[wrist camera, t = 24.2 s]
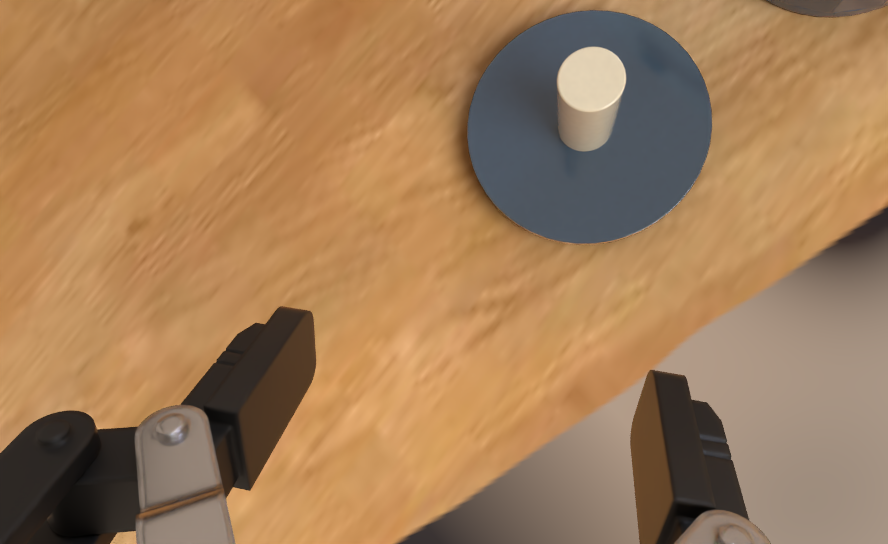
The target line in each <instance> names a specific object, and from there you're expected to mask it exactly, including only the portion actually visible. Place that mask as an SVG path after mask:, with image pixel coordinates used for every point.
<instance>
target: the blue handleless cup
mask: <svg viewBox="0 0 888 544" xmlns="http://www.w3.org/2000/svg"><path fill="white" fill-rule="evenodd" d="M767 1H768V2H770V3H772V4H774V5H776V6H779V7H781V8H783V9H786V10H789V11H792V12H796V13H799V14H804V15H811V16H818V17H840V16H851V15H856V14H861V13H866V12H869V11H873V10H876V9H879V8H882V7H884V6H887V5H888V0H767Z"/></svg>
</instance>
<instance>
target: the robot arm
mask: <svg viewBox="0 0 888 544" xmlns="http://www.w3.org/2000/svg"><path fill="white" fill-rule="evenodd" d="M315 368H316V351H315V335H314V320H313V314H312V312H311V311H307V310H301V309H295V308H289V307H283V306H281V307H279V308H278V309H277V310H276V311H275V312H274V314H273V315H272V316H271V318H270V319H269V320H268V322H267V323H266V324H260V323H255V324H253V325H252V326H250V327H248V328H247V329H245V330H244V331H242V332H240V333H239V334H237V336H236V337H235V338H234V339H233V341H232V342H231V343H230V344H229V345H228V347H227V348H226V351H224V352H223V353H222V354H221V355H220V357H219V358H218V359H217V362H216V363H214V364H213V365H212V366H211V368H210V369H209V370H208V371H207V373H206V374H205V375H204V376H203V378H202V379H201V380H200V381H199V382H198V384H197V385H196V386H195V387H194V389H193V390H192V391H191V392H190V394H189V395H188V396H187V397H186V398H185V400H184V401H183V402H182V403H181V405H175V406H170V407H166V408H163V409H161V410H158V411H156V412H155V413H153V414H151V415H150V416H148V417H147V418H146V419H145V420H144V421H143V422H142V423H141V424H140V425H139V426H138V427H128V428H114V429H99V430H97V429H96V426H95V423H94V420H93V419H92V417H91V416H89V415H88V414H86V413H84V412H80V411H62V412H57V413H53V414H50V415H47V416H45V417H43V418H40V419H38V420H37V421H35V422H33V423H32V424H30V425H29V426H28V427H26V428H25V429H24V430H23V431H22V432H21V433H20V434H19V435H18V436H17V437H16V438H15V439H14V440H13V441H12V442H11V443H10V444H9V445H8V446H7V447H6V448H5V449H4V450H3V451H2V452H1V453H0V544H110V543H111V541H112V540H113V538H114V537H115V535H116V534H117V532H128V531H136V538H137V544H235V540H234V535H233V530H232V526H231V521H230V516H229V512H228V507H227V502H226V497H227V496H228V494H229V493H230V491H231V489H232V488H233V487H235V488H240V489H245V490H249V491H250V490H251V488H252V486H253V485H254V483H255V481H256V479H257V478H258V476H259V474H260V472H261V471H262V469H263V467H264V465H265V464H266V462H267V460H268V458H269V457H270V455H271V453H272V451H273V450H274V448H275V446H276V444H277V443H278V441H279V439H280V437H281V436H282V434H283V432H284V430H285V429H286V427H287V425H288V423H289V422H290V420H291V418H292V416H293V415H294V413H295V411H296V409H297V407H298V406H299V404H300V402H301V400H302V399H303V397H304V395H305V393H306V392H307V390H308V388H309V386H310V384H311V382H312V380H313V377H314V373H315ZM630 442H631V456H632V465H633V476H634V487H635V496H636V497H635V498H636V508H637V518H638V529H639V540H640V544H771V543H770V541H769V540H768V538H767V537H766V536H765V534H764V533H763V532H762V531H761V530H760V529H759V528H758V527H757V526H756V525H754V524H753V523H751V522H750V521H749V518H748V514H747V511H746V507H745V504H744V500H743V496H742V493H741V489H740V486H739V482H738V479H737V475H736V471H735V468H734V464H733V461H732V460H731V453H730V450H729V446H728V444H727V443H726V442H727V439H726V436H725V432H724V428H723V425H722V422H721V420H720V419H719V417H718V416H717V415H716V414H715V412H714V411H713V410H712V408H711V407H710V406H709V405H708V403H706V402H700V401H695V400H691V396H690V391H689V387H688V383H687V379H686V377H685V376H684V375H678V374H672V373H667V372H660V371H655V370H650V371H649V372H648V374H647V377H646V380H645V384H644V387H643V390H642V393H641V396H640V399H639V402H638V405H637V409H636V412H635V415H634V418H633V422H632V429H631V441H630Z"/></svg>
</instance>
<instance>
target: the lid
mask: <svg viewBox="0 0 888 544" xmlns="http://www.w3.org/2000/svg"><path fill="white" fill-rule="evenodd" d="M711 132H712V110H711V104H710V98H709V94H708V91H707V88H706V85H705V82H704V79H703V77H702V75H701V73H700V71H699V69H698V67H697V66H696V64H695V63H694V61H693V60H692V58H691V57H690V55H689V54H688V53H687V52H686V51H685V50H684V49H683V47H682V46H681V45H680V44H679V43H678V42H677V41H676V40H674V39H673V38H672V37H671V36H669V35H668V34H667V33H666V32H664V31H663V30H661V29H659V28H658V27H656V26H654V25H653V24H651V23H648V22H646V21H644V20H642V19H640V18H637V17H633V16H630V15H627V14H623V13H617V12H611V11H597V10H590V11H578V12H572V13H567V14H563V15H559V16H556V17H553V18H550V19H547V20H545V21H543V22H541V23H538V24H536V25H534V26H532V27H531V28H529V29H527V30H526V31H524V32H523V33H521V34H519V35H518V36H517V37H516V38H514V39H513V40H512V41H511V42H509V43H508V44H507V45H506V46H505V47H504V48H503V49H502V50H501V51H500V52H499V53H498V54H497V55H496V56H495V58H494V59H493V60H492V62H491V63H490V64H489V66H488V67H487V69H486V70H485V72H484V74H483V76H482V77H481V79H480V81H479V83H478V85H477V88H476V90H475V93H474V95H473V99H472V102H471V106H470V110H469V117H468V124H467V140H468V148H469V154H470V158H471V162H472V166H473V169H474V171H475V173H476V176H477V178H478V181H479V182H480V184H481V186H482V188H483V189H484V191H485V193H486V194H487V196H488V197H489V198H490V200H491V201H492V202H493V204H494V205H495V206H496V207H497V208H498V209H499V210H500V211H501V212H502V213H503V214H504V215H505V216H506V217H507V218H508V219H510V220H511V221H512V222H514V223H515V224H517V225H518V226H519V227H521V228H523V229H525V230H527V231H528V232H530V233H532V234H534V235H537V236H540V237H542V238H545V239H548V240H552V241H556V242H560V243H566V244H575V245H595V244H602V243H609V242H613V241H617V240H620V239H624V238H627V237H629V236H632V235H634V234H637V233H639V232H641V231H643V230H645V229H646V228H648V227H650V226H652V225H653V224H655V223H656V222H658V221H659V220H660V219H662V218H663V217H664V216H666V215H667V214H668V213H669V212H670V211H671V210H672V209H673V208H674V207H675V206H676V205H677V204H678V203H679V202H681V200H682V199H683V198H684V197H685V195H686V194H687V193H688V192H689V190H690V189H691V188H692V186H693V184H694V183H695V181H696V179H697V178H698V176H699V174H700V172H701V170H702V167H703V165H704V162H705V160H706V157H707V153H708V150H709V146H710V141H711Z"/></svg>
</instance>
